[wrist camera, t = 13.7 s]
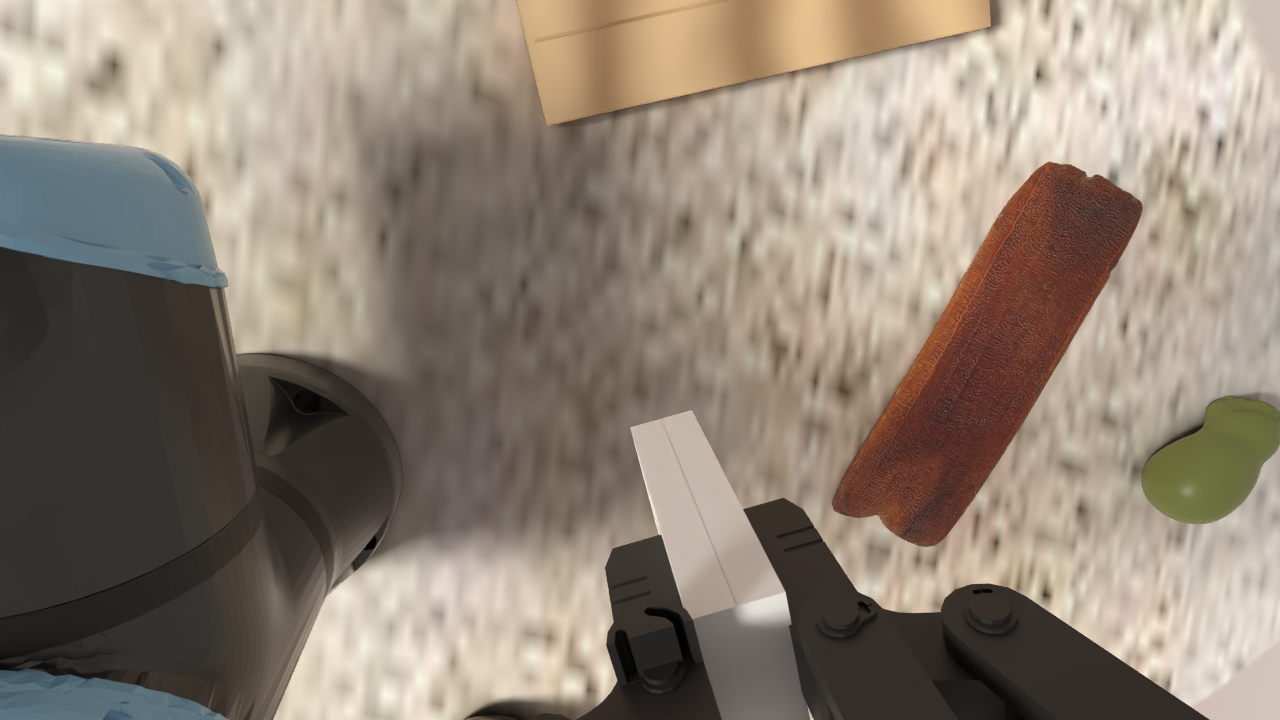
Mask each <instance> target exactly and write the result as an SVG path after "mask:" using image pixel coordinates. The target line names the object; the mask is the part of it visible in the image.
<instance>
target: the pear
mask: <svg viewBox="0 0 1280 720" xmlns="http://www.w3.org/2000/svg"><path fill="white" fill-rule="evenodd" d="M1279 444H1280V412H1278V411H1277V409H1276V408H1275V407H1273V406H1271V405H1269V404H1267V403H1265V402H1263V401H1260V400H1258V399H1238V398H1235V397H1233V396H1228V397H1224V398H1220V399H1218V400H1217V401H1214V402H1213V403H1211V404H1210V405H1209V406H1208V408H1207V410H1206V413H1205V419H1204V425H1203V427H1202V428H1201V429H1200V430H1199V431H1197V432H1196V433H1194V434H1191V435H1189V436H1186V437H1184V438H1181V439H1179V440H1177V441H1175V442H1173V443H1171V444H1169V445H1167V446H1166V447H1164V448H1162V449H1161V450H1160V451H1158V452H1157V453H1156V454H1154V455H1153V456H1152V457H1151V458H1150V459H1149V460H1148V462H1147V463H1146V465H1145V467H1144V469H1143V472H1142V479H1141V481H1142V488H1143V491H1144V493H1145V495H1146V497H1147V499H1148V500H1149V501H1150V502H1151V504H1152V505H1153V506H1154V507H1155V508H1157V509H1158V510H1159V511H1160V512H1162V513H1163V514H1165V515H1166V516H1168V517H1170V518H1172V519H1175V520H1177V521H1180V522H1184V523H1190V524H1206V523H1211V522H1214V521H1217V520H1219V519H1221V518H1223V517H1225V516H1227V515H1228V514H1230V513H1231V512H1232V511H1234V510H1235V509H1236V508H1237V507H1238V506H1239V505H1240V504H1241V503H1242V502H1243V501H1244V500H1245V499H1246V498H1247V496H1248V495H1249V494H1250V492H1251V491H1252V489H1253V487H1254V485H1255V484H1256V481H1257V479H1258V476H1259V473H1260V469H1261V467H1262V465H1263V463H1264V462H1265V461H1266V460H1268V459H1269V458H1270V457H1271V456H1272V455H1273V454H1274V453H1275V452H1276V450H1277V449H1278V447H1279Z"/></svg>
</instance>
